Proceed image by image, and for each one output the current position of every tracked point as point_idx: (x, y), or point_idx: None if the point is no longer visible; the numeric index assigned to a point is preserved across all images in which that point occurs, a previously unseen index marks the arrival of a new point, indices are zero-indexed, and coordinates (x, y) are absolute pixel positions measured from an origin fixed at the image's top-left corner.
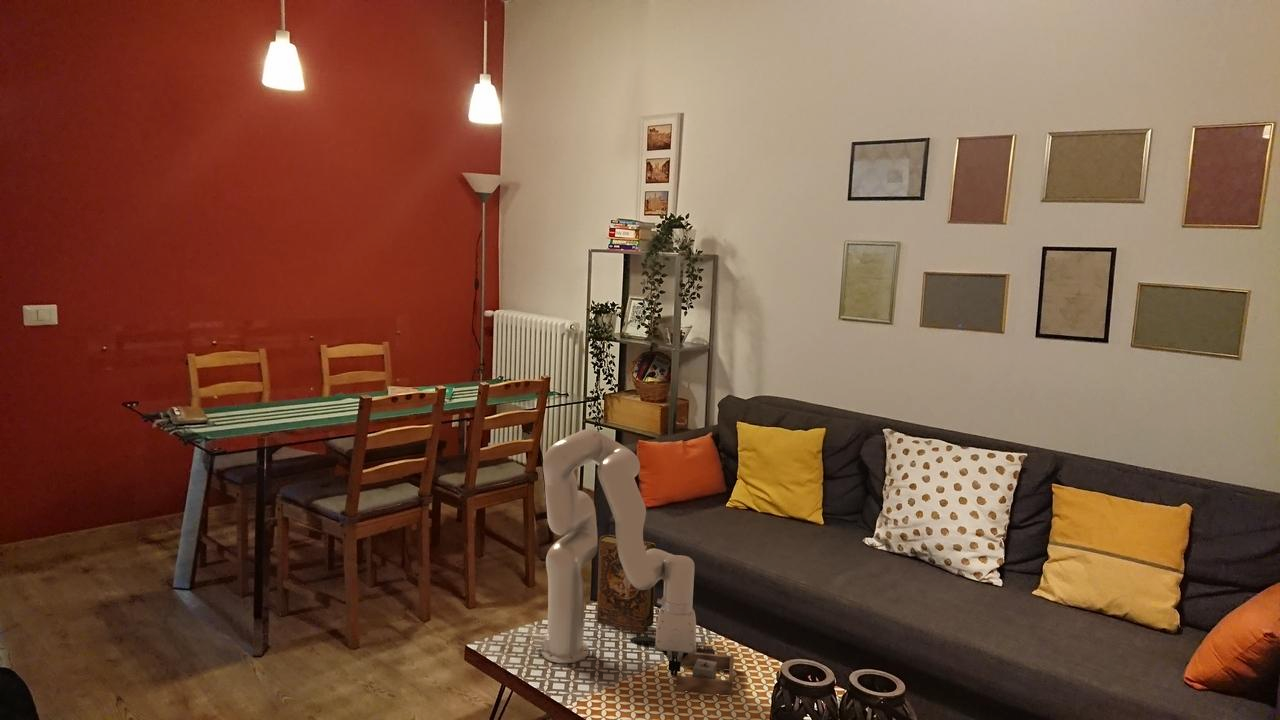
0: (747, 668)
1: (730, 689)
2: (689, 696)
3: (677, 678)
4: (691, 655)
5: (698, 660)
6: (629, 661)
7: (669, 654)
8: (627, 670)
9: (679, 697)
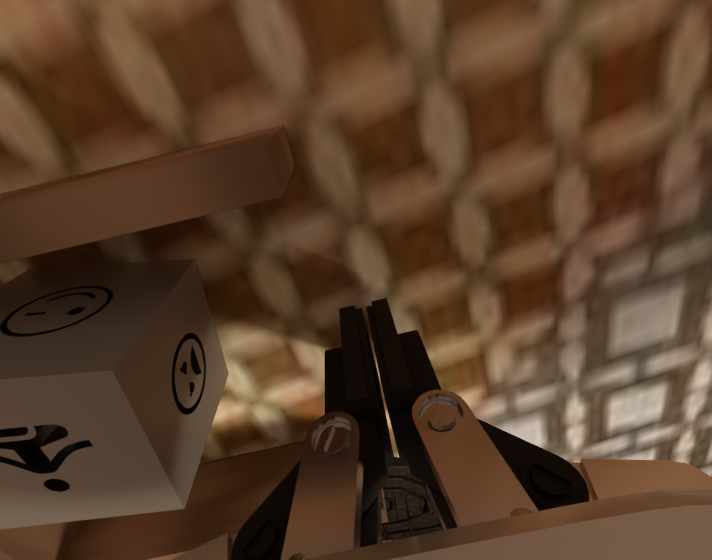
0: None
1: None
2: (118, 77)
3: (247, 144)
4: None
5: (157, 492)
6: (657, 357)
7: (466, 458)
8: (683, 266)
9: (195, 7)
